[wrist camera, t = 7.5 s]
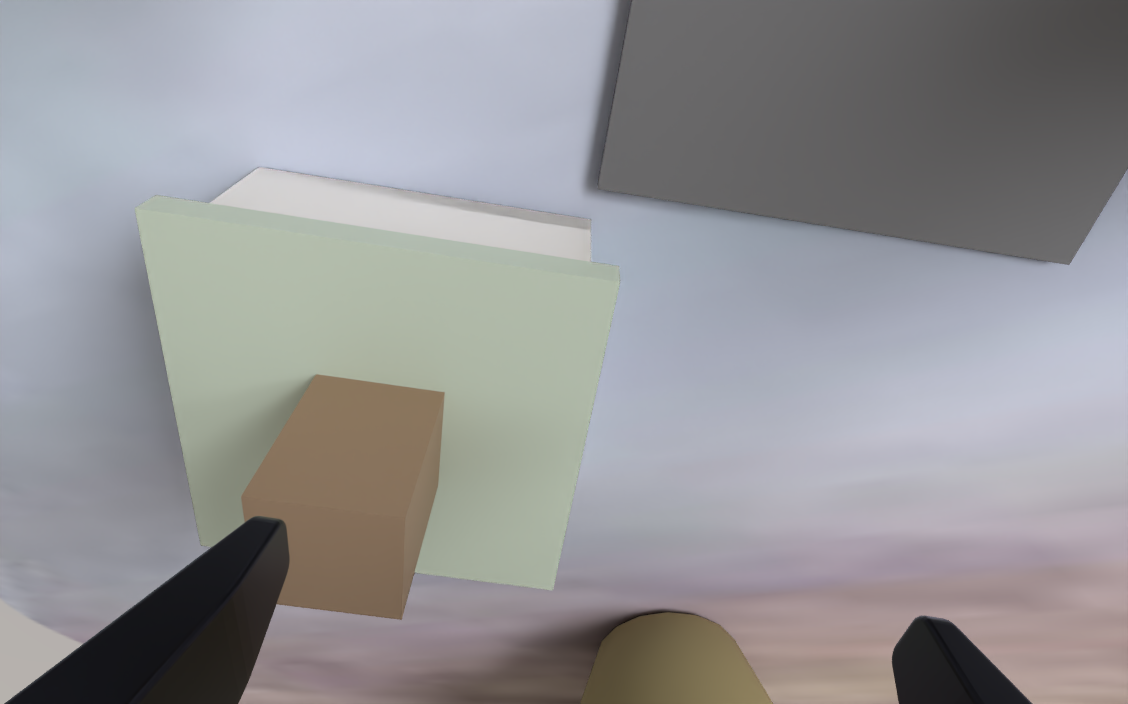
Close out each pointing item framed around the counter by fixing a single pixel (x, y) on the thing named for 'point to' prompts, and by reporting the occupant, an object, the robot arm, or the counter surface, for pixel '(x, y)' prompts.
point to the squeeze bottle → (672, 665)
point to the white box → (411, 213)
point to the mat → (880, 115)
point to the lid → (376, 395)
